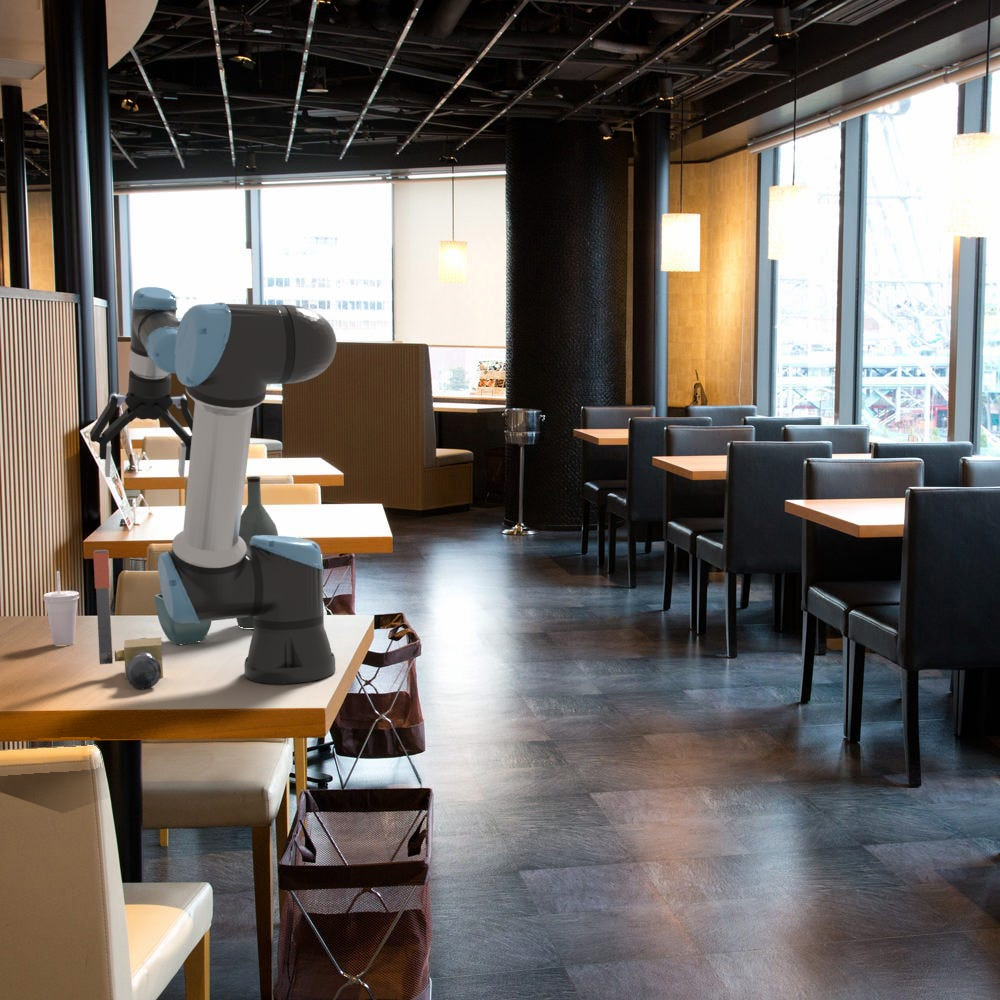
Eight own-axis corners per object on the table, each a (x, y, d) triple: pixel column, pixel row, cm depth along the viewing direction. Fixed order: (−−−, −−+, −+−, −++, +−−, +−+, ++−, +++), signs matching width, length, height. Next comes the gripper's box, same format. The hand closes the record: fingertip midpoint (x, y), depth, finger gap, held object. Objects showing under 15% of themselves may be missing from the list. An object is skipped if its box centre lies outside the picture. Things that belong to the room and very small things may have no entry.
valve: (116, 670, 205) (114, 639, 205) (162, 667, 208) (161, 636, 207) (114, 691, 192) (112, 658, 191) (163, 687, 194) (162, 654, 194)
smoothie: (38, 646, 224) (34, 573, 223) (61, 639, 230) (57, 567, 229) (66, 649, 222) (62, 574, 221) (88, 641, 228) (85, 568, 227)
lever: (99, 662, 202) (93, 549, 200) (113, 661, 202) (108, 549, 200) (98, 666, 200) (93, 552, 197) (113, 664, 200) (107, 551, 198)
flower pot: (170, 649, 221) (168, 601, 220) (155, 640, 228) (153, 594, 227) (216, 643, 226) (214, 596, 225) (200, 634, 233) (198, 589, 232)
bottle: (227, 625, 241) (221, 477, 238) (267, 619, 247) (262, 474, 244) (249, 633, 234) (244, 480, 231) (290, 626, 240) (285, 476, 237)
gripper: (216, 366, 228) (208, 465, 237) (77, 360, 218) (74, 464, 228) (222, 382, 222) (213, 483, 231) (79, 377, 212) (76, 482, 222)
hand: (144, 474), depth 229 cm, fingers open, 13 cm apart
